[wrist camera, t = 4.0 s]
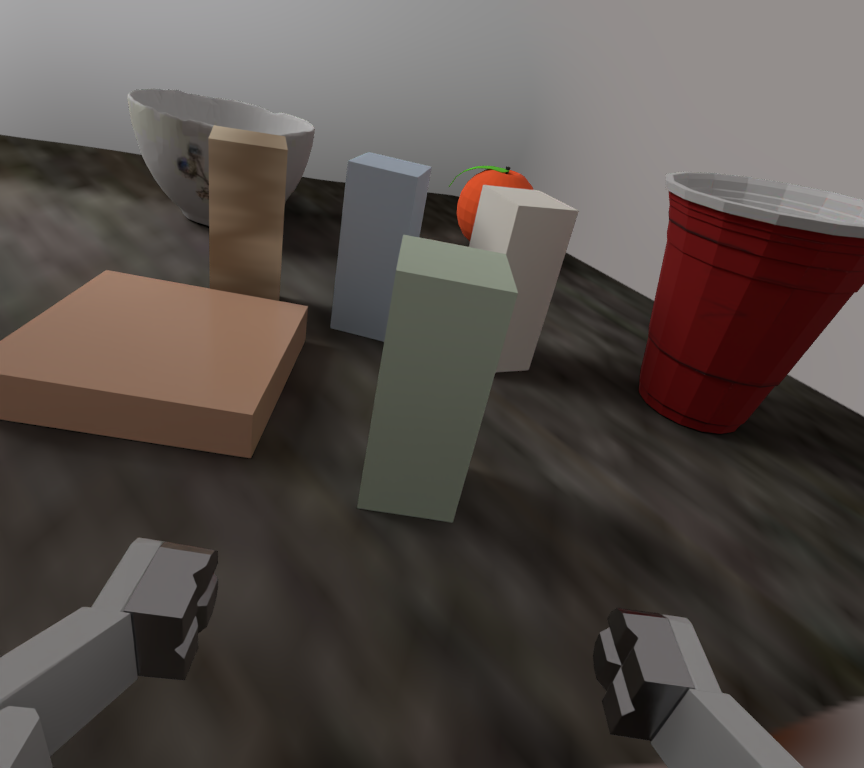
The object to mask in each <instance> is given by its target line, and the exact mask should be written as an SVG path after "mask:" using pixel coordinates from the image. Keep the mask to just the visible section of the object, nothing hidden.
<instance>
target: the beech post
mask: <svg viewBox="0 0 864 768" xmlns="http://www.w3.org/2000/svg"><path fill="white" fill-rule="evenodd" d="M208 146H209V252H210V289H215V290H220V291H226V292H231V293H237V294H243V295H248V296H254V297H259V298H265V299H271V300H276V301H279V295H280V278H281V260H282V242H283V225H284V207H285V189H286V172H287V154H288V149H287V143H286V138H285V136H280V135H273V134H267V133H260V132H254V131H248V130H241V129H235V128H228V127H222V126H216V125H214V126H213V128H212V131H211V133H210V136H209V138H208Z"/></svg>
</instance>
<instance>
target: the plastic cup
mask: <svg viewBox="0 0 864 768" xmlns="http://www.w3.org/2000/svg"><path fill="white" fill-rule="evenodd" d="M666 190H668V191H669V201H670V208H669V225H668V230H667V244H666V249H665V254H664V259H663V263H662V268H661V273H660V277H659V282H658V287H657V292H656V296H655V301H654V306H653V310H652V315H651V320H650V325H649V334H648V341H647V345H646V350H645V354H644V358H643V362H642V366H641V370H640V380H639V381H640V383H639V393H640V395H641V396H642V398H643V399H644V400H645V402H646V403H647V404H648V405H650V406H651V407H652V408H653V409H655V410H656V411H657V412H658V413H660V414H661V415H663V416H665V417H667V418H669V419H671V420H673V421H675V422H677V423H678V424H681V425H684V426H687V427H690V428H693V429H696V430H699V431H702V432H710V433H717V434H723V433H729V432H735V430H736V429H737V428H738V427H739V426H740V425H741V424H744V423H745V422H746V421H747V419H748V418H749V417H750V416H751V415H752V413H753V412H754V411H755V410H756V409H757V407H758V406H759V405H760V404H761V403H762V401H763V400H764V399H765V398H766V396H767V395H768V394H769V393H770V392H771V390H772V389H773V388H774V387H775V386H778V385H779V384H780V382H781V381H782V380H783V379H784V378H785V377H786V375H787V374H788V373H789V372H790V370H791V369H792V368H793V367H794V366H795V364H796V363H797V362H798V361H799V360H800V358H801V357H802V356H803V354H804V353H805V352H806V351H807V350H808V349H809V347H810V346H811V345H812V344H813V342H814V341H815V340H816V339H817V338H818V336H819V335H820V334H821V333H822V331H823V330H824V329H825V328H826V327H827V325H828V324H829V323H830V322H831V320H832V319H833V318H834V317H835V316H836V314H837V313H838V312H839V311H840V309H841V308H842V307H843V306H844V305H845V303H846V302H847V301H848V300H849V298H850V297H851V296H852V295H853V293H854V292H857V291H858V290H859V289H860V288H861V287H862V285H863V284H864V200H862V199H858V198H854V197H850V196H846V195H842V194H838V193H834V192H829V191H824V190H819V189H814V188H809V187H804V186H799V185H794V184H789V183H783V182H776V181H770V180H763V179H757V178H751V177H744V176H734V175H725V174H716V173H701V172H700V173H699V172H678V173H671V174H666Z"/></svg>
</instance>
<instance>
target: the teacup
mask: <svg viewBox="0 0 864 768" xmlns="http://www.w3.org/2000/svg"><path fill="white" fill-rule="evenodd" d="M127 97H128V105H129V111H130V116H131V121H132V126H133V129H134V133H135V136H136V140H137V143H138V145H139V148H140V151H141V154H142V156H143V158H144V160H145V163H146V165H147V167H148V168H149V170H150V172H151V174H152V175H153V177H154V178H155V180H156V182H157V183H158V184H159V186H160V187H161V188H162V190H163V191H164V192H165V193H166V194H167V196H168V197H169V198H170V199H171V200H172V201H173V202H174V203H175V204H176V205H177V206H178V207H179V208H181V210H182V212H183V214H184V215H185V216H186V217H187V218H188V219H189V220H192V221H195V222H197V223H201V224H204V225H207V226H209V146H208V138H209V136H210V133H211V131H212V128H213V126H214V125H216V126H222V127H228V128H235V129H241V130H248V131H254V132H260V133H267V134H273V135H280V136H285V138H286V143H287V149H288V154H287V172H286V189H285V201H286V200H287V199H288V198H289V196H290V195H291V194H292V193H293V191H294V190H295V188H296V187H297V185H298V183H299V181H300V179H301V177H302V175H303V172H304V170H305V167H306V165H307V162H308V159H309V155H310V152H311V148H312V144H313V138H314V130H315V129H314V126H313V125H312V124H311V123H310V122H308V121H306V120H304V119H302V118H298V117H295V116H292V115H288V114H286V113H283V112H280V113H278V114H275V113H271V112H269V111H268V110H267V109H264V108H262V107H259V106H255V105H252V104H248V103H243V102H241V101H235V100H229V99H219V98H211V97H205V96H200V95H193V94H187V93H184V92H181V91H179V90H160V89H142V90H134V91H132V92H130V93H129V94H128V96H127Z"/></svg>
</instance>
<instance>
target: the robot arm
mask: <svg viewBox="0 0 864 768" xmlns="http://www.w3.org/2000/svg"><path fill="white" fill-rule="evenodd" d="M217 564H218V551H216V550H211V549H205V548H200V547H194V546H188V545H182V544H176V543H171V542H164V541H158V540H151V539H145V538H139V537H138V538H137V539H136V540H135V541H134V542H133V543H131V545H130V546H129V548H128V550H127V551H126V553H125V554H124V556H123V557H122V559H121V561H120V562H119V564H118V565H117V567H116V569H115V570H114V572H113V573H112V575H111V577H110V578H109V580H108V581H107V583H106V584H105V586H104V588H103V589H102V591H101V592H100V594H99V596H98V597H97V599H96V600H95V602H94V604H93V605H92V607H81V608H80V609H78V610H77V611H75V612H73V613H72V614H70V615H68V616H67V617H65V618H64V619H62V620H60V621H59V622H57V623H55V624H54V625H52V626H51V627H49V628H47V629H46V630H44V631H42V632H41V633H39V634H38V635H36V636H34V637H33V638H31V639H29V640H28V641H26V642H25V643H23V644H21V645H20V646H18V647H16V648H15V649H13V650H11V651H10V652H8V653H7V654H5V655H3V656H2V657H0V768H53V766H52V762H51V758H50V756H51V755H52V754H53V753H55V752H56V751H57V750H58V749H59V748H60V747H61V746H63V745H64V744H65V743H66V742H67V741H68V740H69V739H70V738H72V737H73V736H74V735H75V734H76V733H77V732H78V731H79V730H81V729H82V728H83V727H84V726H85V725H86V724H87V723H88V722H90V721H91V720H92V719H93V718H94V717H95V716H96V715H98V714H99V713H100V712H101V711H102V710H103V709H104V708H105V707H107V706H108V705H109V704H110V703H111V702H112V701H113V700H114V699H116V698H117V697H118V696H119V695H120V694H121V693H122V692H123V691H125V690H126V689H127V688H128V687H129V686H130V685H131V684H133V683H134V682H135V681H136V680H137V679H138V676H145V677H155V678H165V679H176V680H185V679H186V677H187V674H188V672H189V669H190V667H191V665H192V662H193V660H194V657H195V655H196V652H197V650H198V633H199V632H201V631H202V630H203V629H205V628H206V627H207V625H208V623H209V620H210V618H211V615H212V612H213V608H214V605H215V601H216V597H217V590H218V578H217V576H216V575H215V574H214V571H215V569H216V567H217ZM607 620H608V623H609V628H607V629H605V630H604V631H602V632H600V633H599V635H598V638H597V640H596V642H595V646H594V653H593V661H594V670H595V674H596V679H597V680H598V682H599V683H600V684H601V685H602V686H603V688H604V689H605V690H606V694H605V696H604V698H603V700H602V703H603V707H604V711H605V715H606V719H607V723H608V727H609V731H610V734H611V735H617V736H624V737H630V738H636V739H643V740H649V741H651V745H652V746H653V747H654V749H655V750H656V752H657V753H658V754H659V756H660V757H661V759H662V760H663V761H664V763H665V764H666V766H667V767H668V768H803V767H802V766H801V765H800V764H799V763H798V762H797V761H796V760H795V759H794V758H793V757H792V756H791V755H790V754H789V753H788V752H787V751H786V750H785V749H784V748H783V747H782V746H781V745H780V744H779V743H778V742H777V741H776V740H775V739H774V738H773V737H772V736H771V735H770V734H769V733H768V732H767V731H766V730H765V729H764V728H763V727H762V726H761V725H760V724H759V723H758V722H757V721H756V720H755V719H754V718H753V717H752V716H751V715H750V714H749V713H748V712H747V711H746V710H745V709H744V708H743V707H742V706H741V705H740V704H739V703H738V702H736V701H735V700H734V699H733V698H732V697H731V696H730V695H729V694H725V693H722V692H721V689H720V687H719V685H718V682H717V680H716V678H715V676H714V673H713V671H712V669H711V667H710V664H709V662H708V660H707V657H706V655H705V653H704V651H703V648H702V646H701V644H700V641H699V639H698V637H697V635H696V632H695V630H694V628H693V625H692V623H691V622H690V621H689V620H688V619H687V618H683V617H677V616H670V615H661V614H659V613H651V612H644V611H636V610H628V609H621V608H616V609H614V610H613V611H611V613H610V615H609V617H608V618H607Z"/></svg>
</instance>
